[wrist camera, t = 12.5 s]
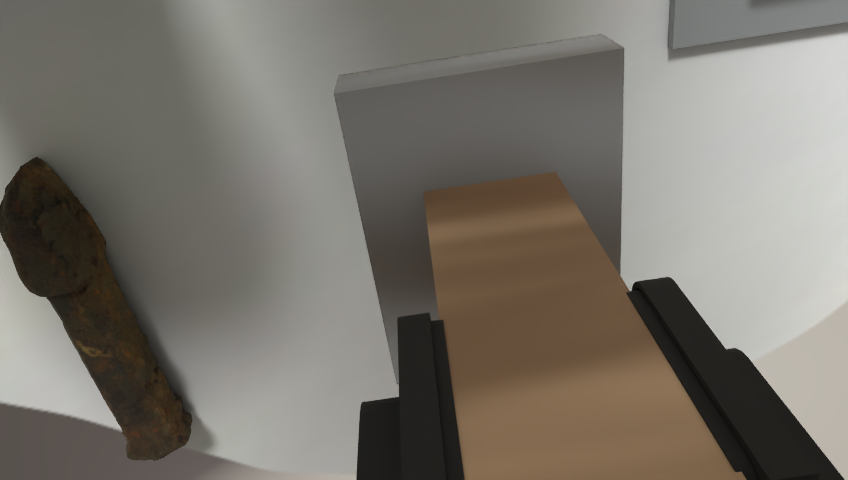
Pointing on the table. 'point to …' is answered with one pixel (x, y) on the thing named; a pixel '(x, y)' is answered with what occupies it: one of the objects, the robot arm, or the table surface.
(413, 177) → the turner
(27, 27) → the table surface
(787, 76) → the table surface
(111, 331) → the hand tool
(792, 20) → the mat
